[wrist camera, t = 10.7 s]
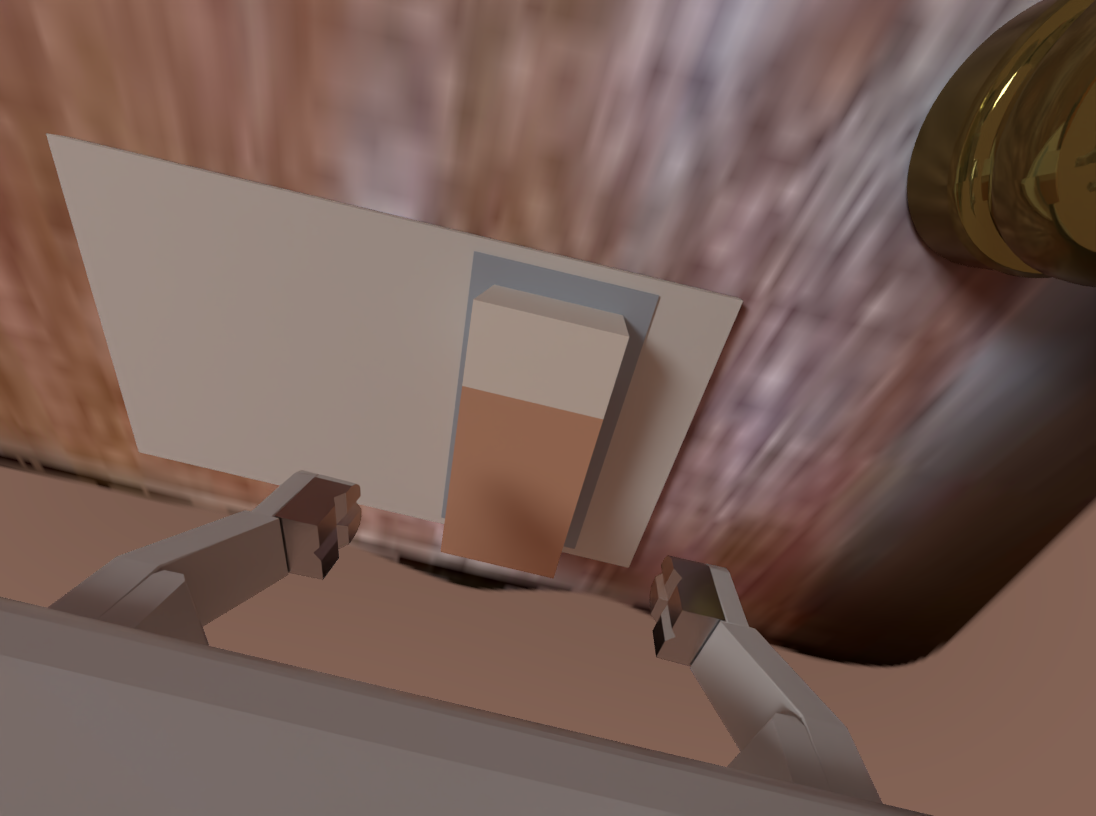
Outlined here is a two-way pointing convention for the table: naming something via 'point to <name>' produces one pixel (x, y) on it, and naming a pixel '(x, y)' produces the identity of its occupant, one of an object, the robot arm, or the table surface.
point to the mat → (355, 337)
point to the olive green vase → (1015, 151)
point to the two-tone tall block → (527, 425)
